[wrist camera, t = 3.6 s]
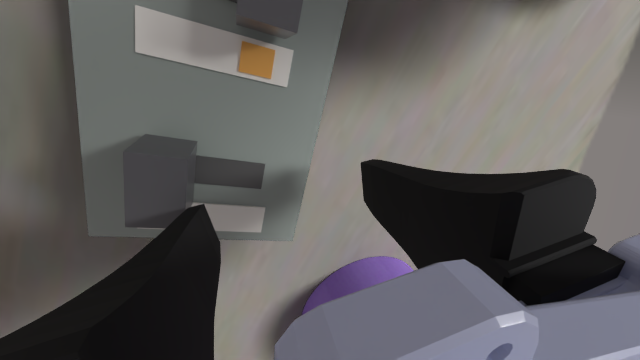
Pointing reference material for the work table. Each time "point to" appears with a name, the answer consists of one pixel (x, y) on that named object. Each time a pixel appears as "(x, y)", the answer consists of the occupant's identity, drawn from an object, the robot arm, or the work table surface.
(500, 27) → the work table surface
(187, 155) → the block
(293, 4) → the slider middle
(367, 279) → the masking tape
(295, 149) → the switch panel
